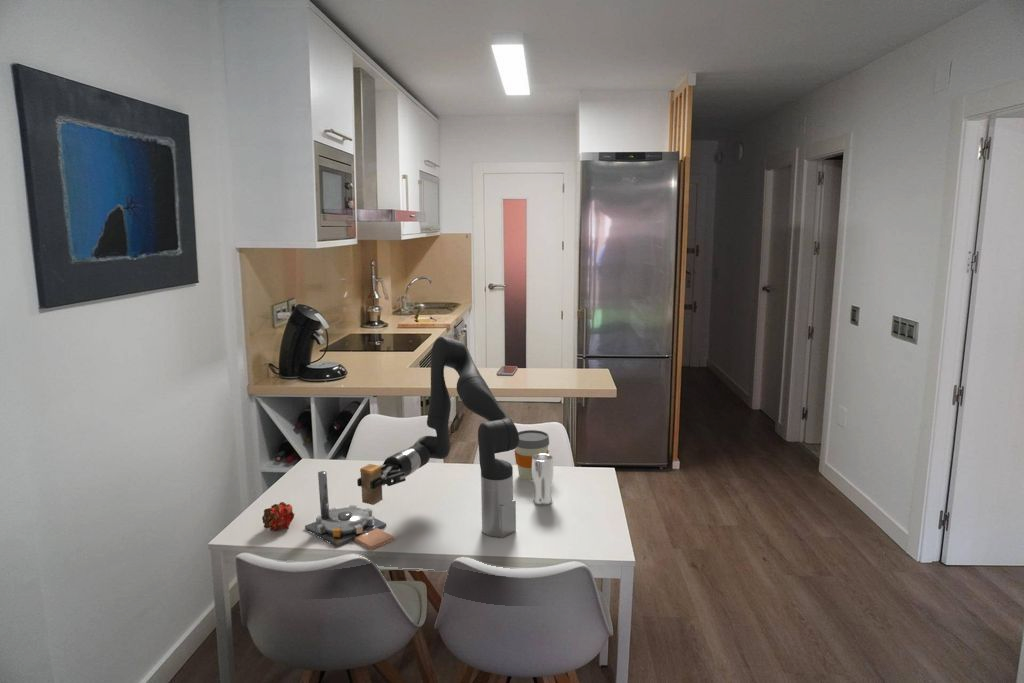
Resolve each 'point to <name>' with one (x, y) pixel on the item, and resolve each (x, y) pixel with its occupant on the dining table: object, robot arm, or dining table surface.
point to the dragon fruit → (278, 516)
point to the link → (367, 476)
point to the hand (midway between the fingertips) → (365, 484)
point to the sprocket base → (345, 537)
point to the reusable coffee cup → (530, 450)
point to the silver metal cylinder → (542, 478)
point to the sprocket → (340, 514)
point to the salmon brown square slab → (374, 538)
